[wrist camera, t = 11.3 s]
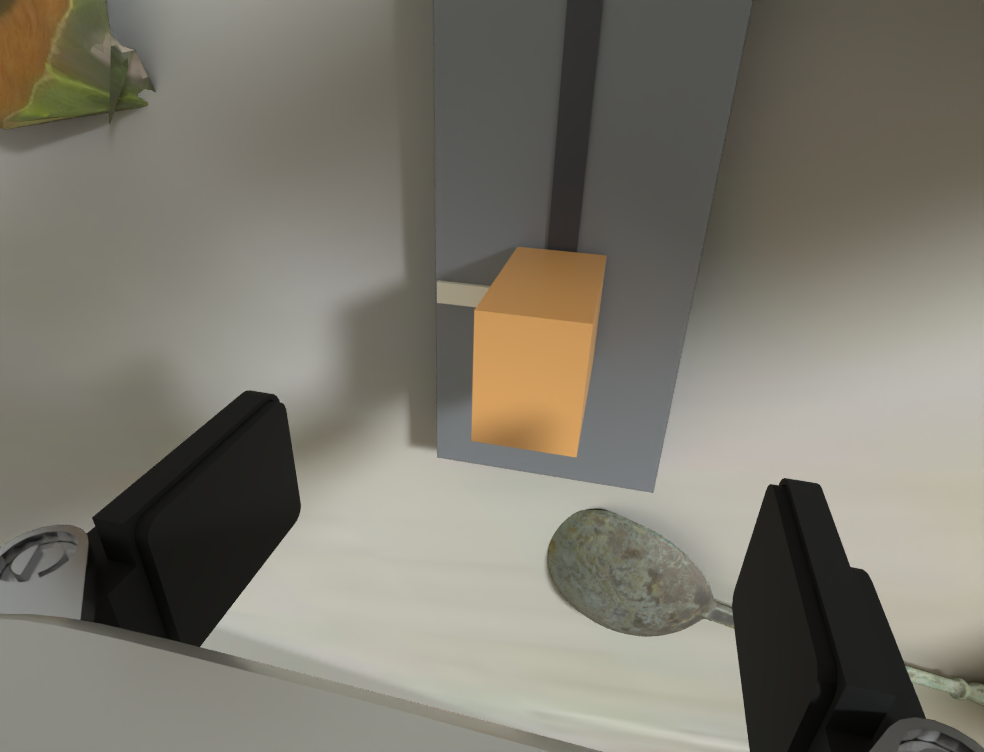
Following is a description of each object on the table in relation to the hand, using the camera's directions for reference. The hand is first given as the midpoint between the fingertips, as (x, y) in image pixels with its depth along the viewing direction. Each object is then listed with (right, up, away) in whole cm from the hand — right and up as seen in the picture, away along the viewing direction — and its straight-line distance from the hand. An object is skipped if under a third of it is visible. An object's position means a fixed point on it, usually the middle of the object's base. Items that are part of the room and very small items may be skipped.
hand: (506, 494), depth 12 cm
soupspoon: (+13, -9, +17) cm, 23 cm away
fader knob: (+2, +5, +10) cm, 11 cm away
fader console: (+3, +9, +10) cm, 14 cm away
